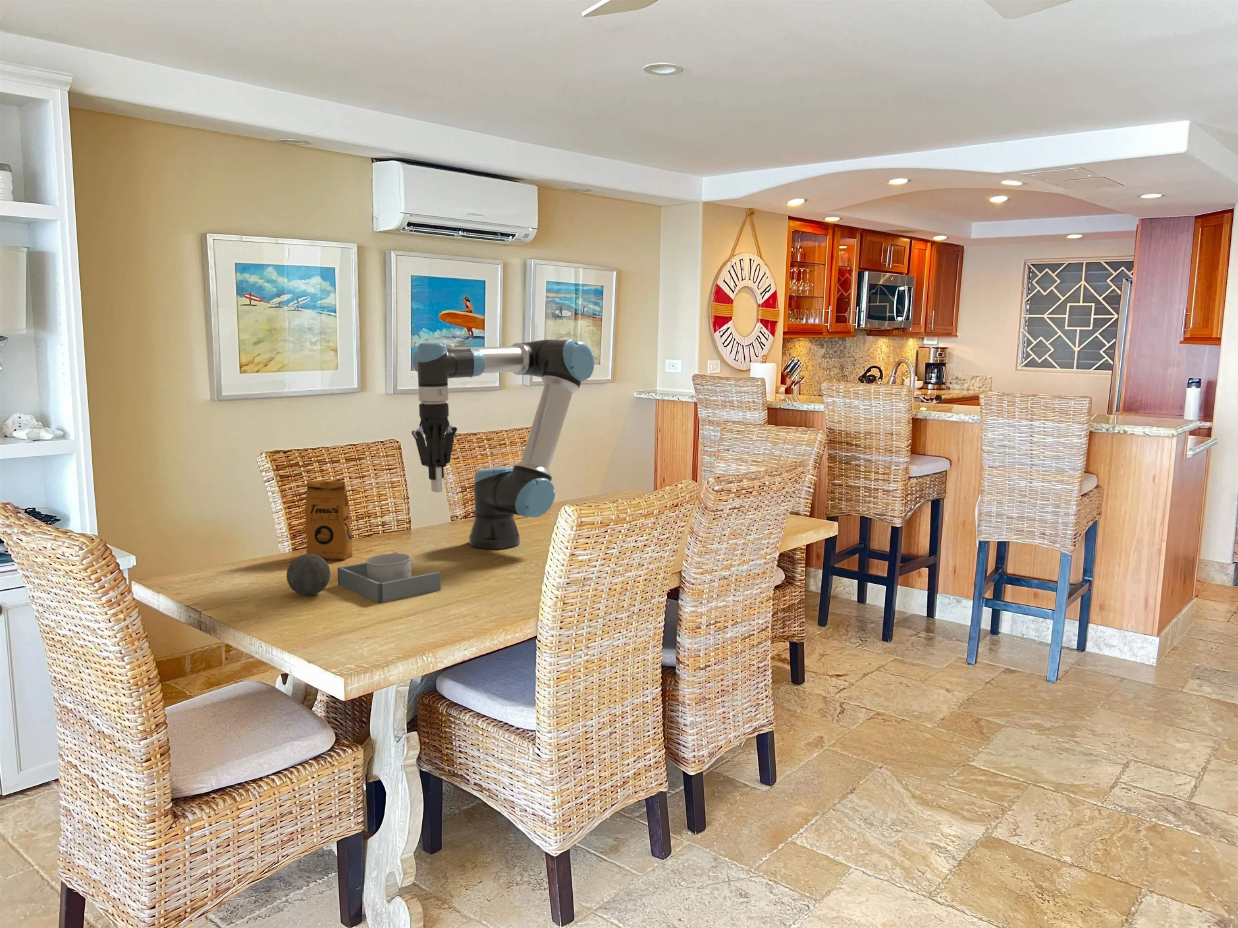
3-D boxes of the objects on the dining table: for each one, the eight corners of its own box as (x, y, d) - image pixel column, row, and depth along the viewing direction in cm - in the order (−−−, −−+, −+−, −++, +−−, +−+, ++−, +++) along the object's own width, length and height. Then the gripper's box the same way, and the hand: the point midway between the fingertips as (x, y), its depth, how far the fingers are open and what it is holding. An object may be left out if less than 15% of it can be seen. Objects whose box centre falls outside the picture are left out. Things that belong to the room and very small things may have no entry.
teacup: (401, 596, 225) (400, 564, 224) (358, 593, 227) (358, 561, 225) (423, 581, 238) (422, 550, 237) (383, 578, 240) (382, 548, 239)
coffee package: (345, 562, 256) (343, 483, 253) (301, 561, 257) (298, 482, 254) (358, 554, 266) (356, 478, 263) (315, 552, 267) (313, 476, 264)
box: (397, 573, 245) (397, 557, 244) (440, 589, 230) (440, 572, 230) (338, 584, 234) (337, 567, 233) (379, 602, 219) (379, 584, 218)
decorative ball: (327, 599, 221) (326, 558, 219) (283, 601, 219) (282, 559, 218) (333, 588, 231) (332, 548, 229) (291, 589, 229) (289, 549, 228)
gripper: (420, 405, 235) (424, 496, 239) (462, 401, 244) (465, 489, 248) (404, 403, 240) (407, 493, 244) (445, 399, 249) (448, 486, 253)
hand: (436, 491), depth 246 cm, fingers closed
